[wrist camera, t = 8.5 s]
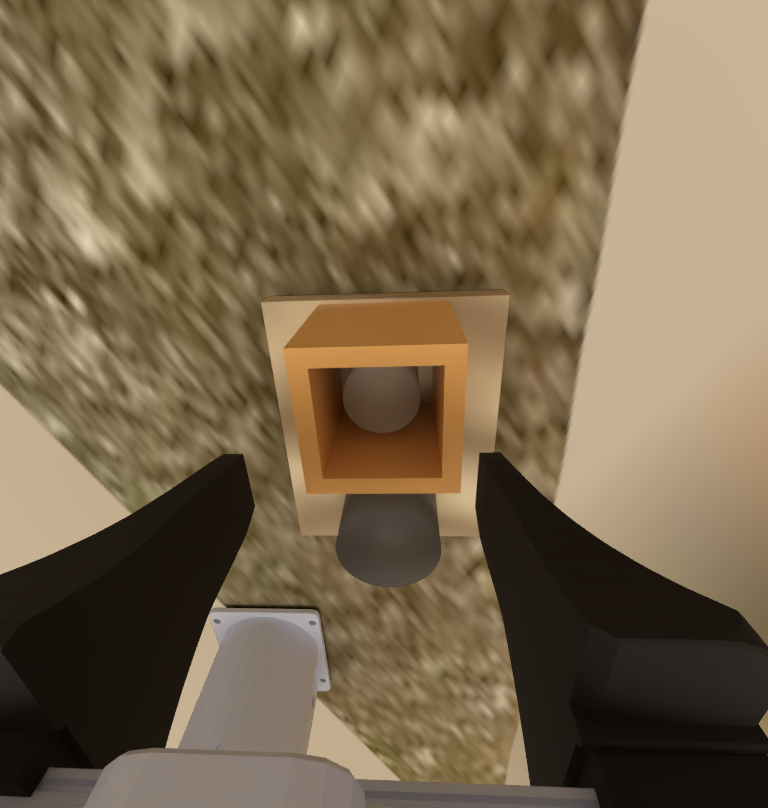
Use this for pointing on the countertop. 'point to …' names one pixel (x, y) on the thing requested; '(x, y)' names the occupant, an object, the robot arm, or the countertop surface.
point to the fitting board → (477, 399)
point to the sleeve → (378, 347)
